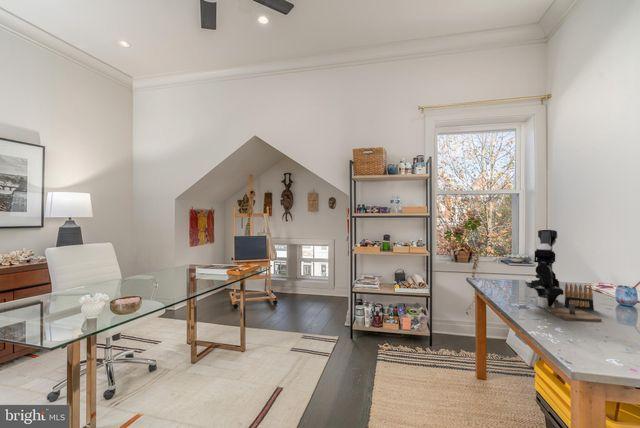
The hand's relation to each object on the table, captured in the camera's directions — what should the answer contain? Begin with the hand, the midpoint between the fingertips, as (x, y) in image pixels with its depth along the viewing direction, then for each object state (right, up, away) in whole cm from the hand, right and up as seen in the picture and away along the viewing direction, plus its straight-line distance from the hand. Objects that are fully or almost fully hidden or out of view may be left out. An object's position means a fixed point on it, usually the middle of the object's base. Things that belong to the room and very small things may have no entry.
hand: (545, 304), depth 147 cm
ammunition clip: (+14, -1, -3) cm, 14 cm away
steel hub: (0, -1, 0) cm, 1 cm away
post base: (+2, -1, -13) cm, 14 cm away
